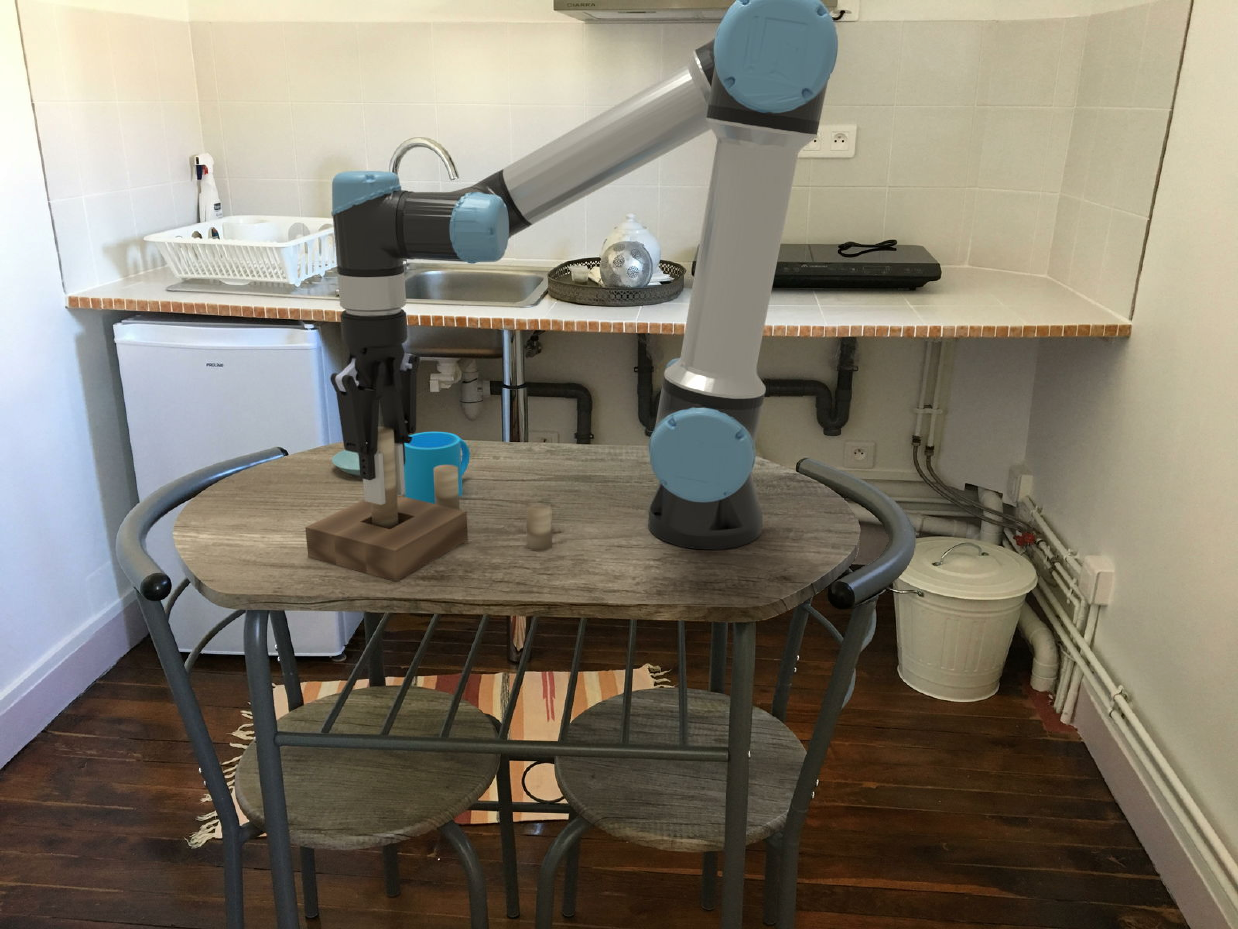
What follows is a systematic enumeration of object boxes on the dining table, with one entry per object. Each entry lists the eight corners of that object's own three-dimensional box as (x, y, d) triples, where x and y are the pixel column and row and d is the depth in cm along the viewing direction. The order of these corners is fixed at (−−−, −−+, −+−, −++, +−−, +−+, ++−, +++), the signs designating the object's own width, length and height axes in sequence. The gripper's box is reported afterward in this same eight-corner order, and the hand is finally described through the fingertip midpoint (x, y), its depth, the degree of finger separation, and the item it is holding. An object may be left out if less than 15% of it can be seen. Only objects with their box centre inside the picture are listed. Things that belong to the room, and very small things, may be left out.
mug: (436, 508, 141) (433, 453, 138) (393, 497, 145) (389, 442, 142) (490, 483, 150) (488, 431, 148) (448, 473, 154) (445, 421, 152)
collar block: (467, 539, 130) (466, 511, 129) (396, 581, 119) (394, 550, 117) (383, 519, 137) (381, 491, 135) (308, 557, 125) (305, 527, 124)
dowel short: (556, 544, 130) (556, 508, 128) (543, 553, 127) (542, 516, 125) (535, 539, 131) (535, 503, 129) (522, 548, 128) (521, 511, 127)
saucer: (355, 489, 148) (354, 474, 147) (319, 468, 156) (318, 454, 156) (425, 471, 155) (424, 457, 154) (387, 452, 164) (386, 438, 163)
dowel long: (404, 534, 128) (399, 429, 123) (387, 543, 125) (381, 436, 120) (384, 529, 129) (378, 425, 125) (367, 538, 127) (360, 432, 122)
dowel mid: (464, 515, 138) (462, 467, 136) (450, 523, 136) (447, 474, 133) (445, 510, 140) (443, 463, 137) (431, 518, 137) (428, 470, 135)
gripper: (393, 295, 126) (403, 472, 134) (298, 317, 112) (315, 512, 120) (441, 301, 123) (449, 483, 130) (349, 324, 109) (364, 525, 117)
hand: (385, 496), depth 125 cm, fingers closed on dowel long, 3 cm apart
